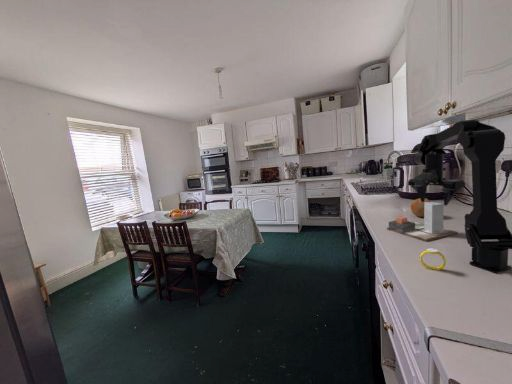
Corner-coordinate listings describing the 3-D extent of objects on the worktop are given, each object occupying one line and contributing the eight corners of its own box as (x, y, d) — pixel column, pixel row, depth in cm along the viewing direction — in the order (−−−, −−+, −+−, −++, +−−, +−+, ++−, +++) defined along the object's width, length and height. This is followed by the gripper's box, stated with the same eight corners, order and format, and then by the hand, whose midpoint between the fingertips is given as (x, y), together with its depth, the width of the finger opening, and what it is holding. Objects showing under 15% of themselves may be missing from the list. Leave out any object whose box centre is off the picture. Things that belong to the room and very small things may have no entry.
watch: (420, 269, 68) (419, 250, 67) (421, 265, 70) (419, 247, 70) (446, 272, 64) (444, 252, 64) (445, 268, 66) (444, 249, 66)
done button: (407, 224, 98) (407, 217, 98) (401, 225, 97) (401, 218, 97) (401, 222, 101) (401, 216, 101) (396, 223, 100) (395, 217, 100)
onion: (425, 213, 121) (425, 195, 119) (438, 218, 111) (438, 198, 109) (406, 215, 122) (406, 197, 120) (418, 219, 112) (418, 200, 110)
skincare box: (443, 233, 90) (444, 204, 88) (431, 233, 91) (432, 205, 89) (434, 228, 96) (435, 201, 94) (423, 228, 97) (423, 202, 95)
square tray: (457, 233, 90) (457, 224, 90) (425, 241, 86) (425, 232, 85) (415, 223, 107) (415, 215, 107) (387, 229, 103) (386, 221, 103)
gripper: (398, 168, 97) (398, 202, 99) (444, 168, 79) (443, 210, 81) (417, 165, 99) (417, 199, 102) (466, 164, 82) (465, 206, 84)
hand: (433, 203), depth 92 cm, fingers open, 9 cm apart
